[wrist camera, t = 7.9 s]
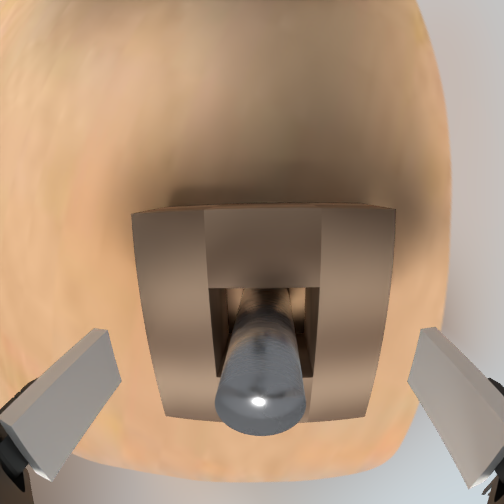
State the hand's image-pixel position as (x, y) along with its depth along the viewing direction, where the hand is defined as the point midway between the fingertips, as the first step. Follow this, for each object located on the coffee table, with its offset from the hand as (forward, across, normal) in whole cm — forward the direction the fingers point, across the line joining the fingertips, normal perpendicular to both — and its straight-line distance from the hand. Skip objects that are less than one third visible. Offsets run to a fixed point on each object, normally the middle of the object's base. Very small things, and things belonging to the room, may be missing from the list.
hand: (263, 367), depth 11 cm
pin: (+8, 0, 0) cm, 8 cm away
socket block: (+8, 0, 0) cm, 8 cm away
